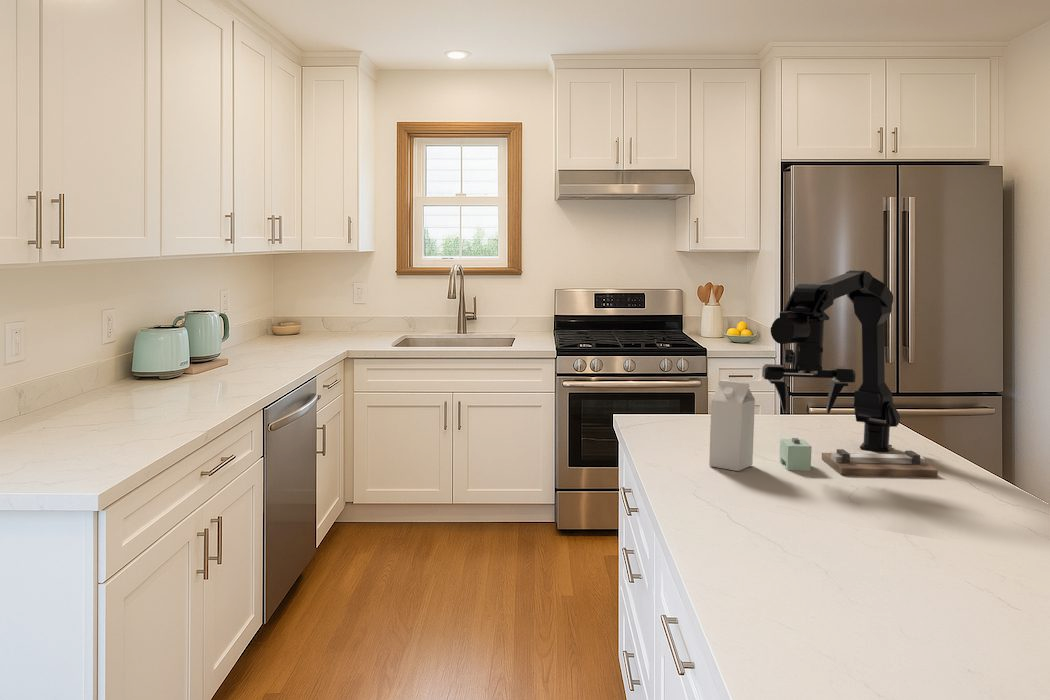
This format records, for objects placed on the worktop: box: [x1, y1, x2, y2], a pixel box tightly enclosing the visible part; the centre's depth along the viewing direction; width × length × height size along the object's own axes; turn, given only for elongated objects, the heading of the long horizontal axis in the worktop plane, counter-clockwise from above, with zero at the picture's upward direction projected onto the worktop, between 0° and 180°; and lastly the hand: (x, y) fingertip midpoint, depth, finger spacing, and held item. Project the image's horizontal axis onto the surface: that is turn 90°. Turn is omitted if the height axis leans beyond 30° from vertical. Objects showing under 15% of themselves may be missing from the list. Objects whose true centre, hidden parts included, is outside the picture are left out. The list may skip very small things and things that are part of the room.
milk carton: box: [709, 380, 756, 472], centre depth 179 cm, size 7×7×19 cm
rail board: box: [821, 448, 939, 478], centre depth 179 cm, size 20×14×4 cm
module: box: [778, 437, 813, 471], centre depth 180 cm, size 5×7×6 cm
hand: (805, 412), depth 178 cm, fingers open, 9 cm apart
